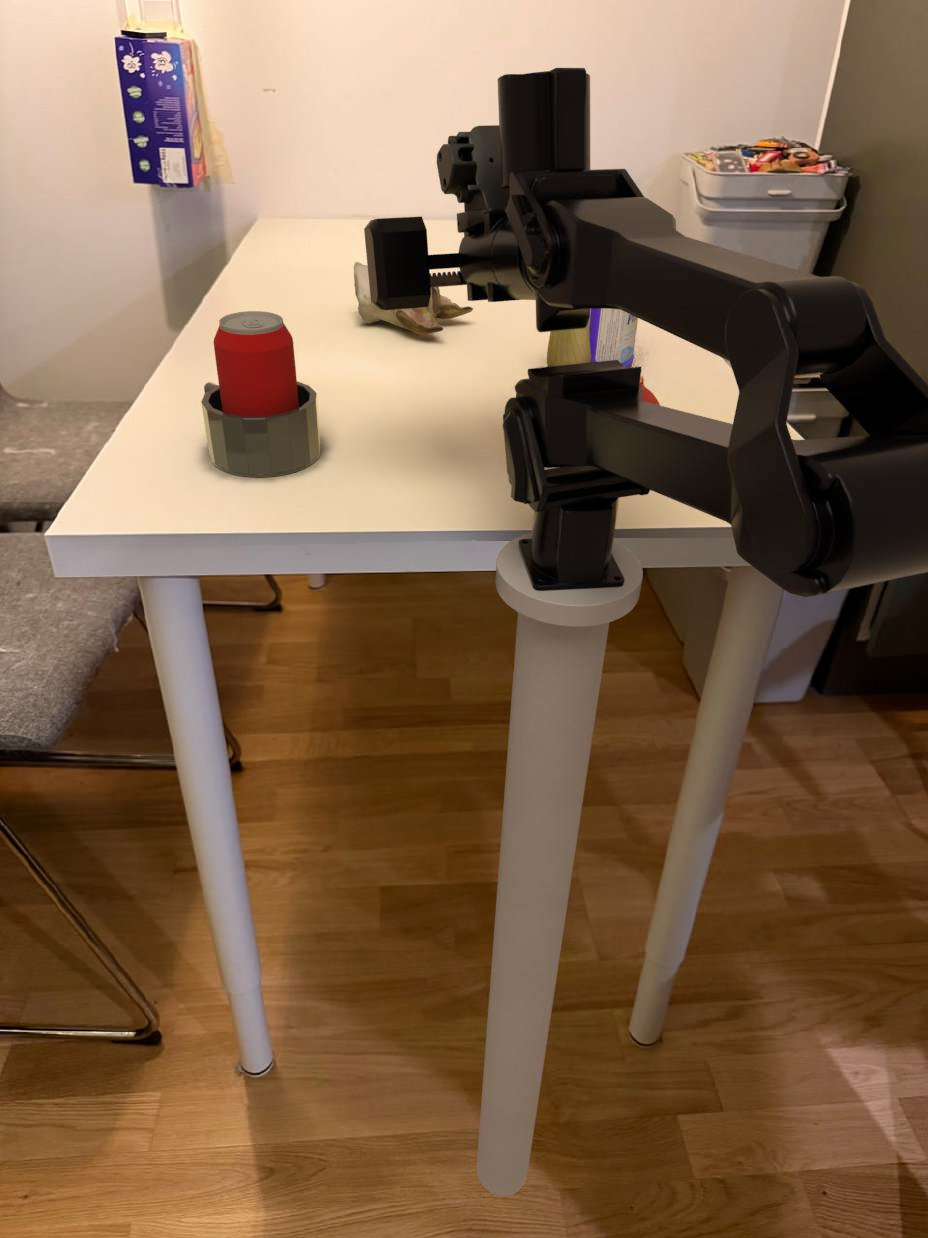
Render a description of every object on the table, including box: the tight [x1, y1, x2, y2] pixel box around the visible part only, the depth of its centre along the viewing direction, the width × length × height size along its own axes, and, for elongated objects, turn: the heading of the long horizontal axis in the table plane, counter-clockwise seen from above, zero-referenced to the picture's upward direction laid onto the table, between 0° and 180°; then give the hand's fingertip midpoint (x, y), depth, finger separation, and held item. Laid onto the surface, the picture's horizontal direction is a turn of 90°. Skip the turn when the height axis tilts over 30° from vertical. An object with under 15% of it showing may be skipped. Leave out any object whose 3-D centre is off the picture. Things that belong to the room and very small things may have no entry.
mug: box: [200, 380, 321, 478], centre depth 81 cm, size 13×10×6 cm
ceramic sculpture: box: [353, 261, 474, 335], centre depth 112 cm, size 11×9×15 cm
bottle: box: [589, 308, 639, 368], centre depth 98 cm, size 7×6×17 cm
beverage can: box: [212, 310, 299, 416], centre depth 78 cm, size 7×7×12 cm
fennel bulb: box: [546, 321, 592, 367], centre depth 97 cm, size 6×5×12 cm
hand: (452, 260), depth 74 cm, fingers open, 9 cm apart
